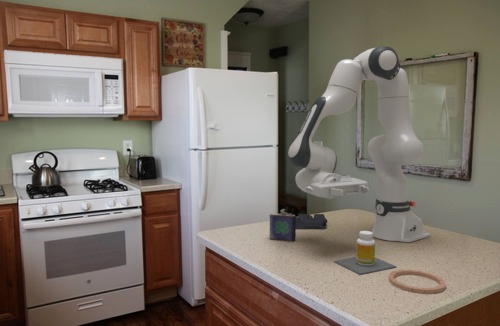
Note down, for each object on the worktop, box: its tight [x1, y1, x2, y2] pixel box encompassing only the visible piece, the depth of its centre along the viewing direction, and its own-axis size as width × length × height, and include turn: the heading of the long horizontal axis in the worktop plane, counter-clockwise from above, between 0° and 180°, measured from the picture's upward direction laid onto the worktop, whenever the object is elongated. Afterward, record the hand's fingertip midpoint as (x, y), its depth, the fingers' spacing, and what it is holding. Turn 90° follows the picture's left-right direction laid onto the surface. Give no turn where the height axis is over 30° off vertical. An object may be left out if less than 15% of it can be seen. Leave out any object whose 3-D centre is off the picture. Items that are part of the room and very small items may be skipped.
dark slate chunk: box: [295, 213, 328, 231], centre depth 173 cm, size 15×22×5 cm
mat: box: [333, 256, 397, 276], centre depth 124 cm, size 14×12×1 cm
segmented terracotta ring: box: [388, 269, 447, 295], centre depth 110 cm, size 14×14×1 cm
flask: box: [269, 208, 297, 243], centre depth 150 cm, size 10×3×12 cm, turn 71°
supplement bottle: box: [355, 230, 376, 266], centre depth 124 cm, size 5×5×10 cm
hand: (355, 191), depth 127 cm, fingers open, 8 cm apart
